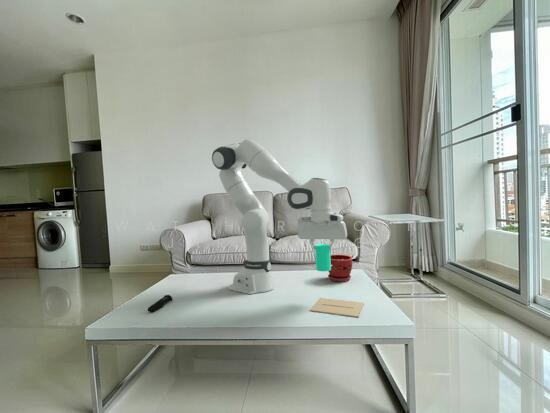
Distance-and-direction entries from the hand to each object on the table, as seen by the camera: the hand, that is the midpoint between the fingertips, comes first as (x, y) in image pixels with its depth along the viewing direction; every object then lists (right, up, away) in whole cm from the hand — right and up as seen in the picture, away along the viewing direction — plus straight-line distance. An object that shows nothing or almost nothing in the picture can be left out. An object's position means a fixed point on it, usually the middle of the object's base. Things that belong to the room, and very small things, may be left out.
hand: (322, 249), depth 117 cm
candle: (0, -9, 0) cm, 9 cm away
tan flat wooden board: (+4, -21, -8) cm, 23 cm away
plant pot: (+14, -20, +30) cm, 39 cm away
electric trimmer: (-68, -25, +2) cm, 73 cm away
